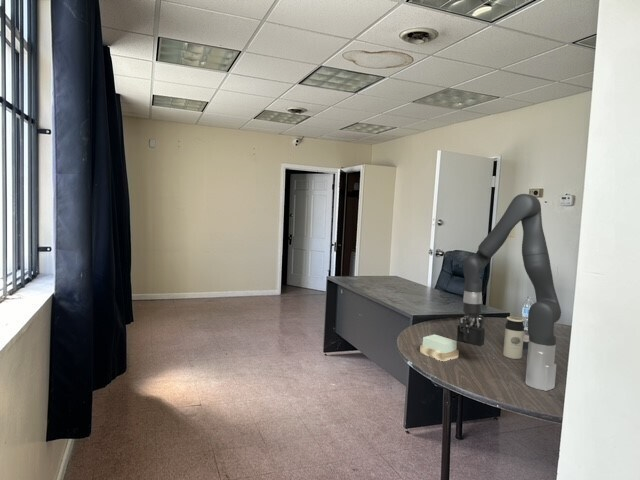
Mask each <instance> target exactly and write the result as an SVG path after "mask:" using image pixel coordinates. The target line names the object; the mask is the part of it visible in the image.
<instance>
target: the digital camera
mask: <svg viewBox="0 0 640 480" xmlns="http://www.w3.org/2000/svg"><path fill="white" fill-rule="evenodd" d="M468 326H469V325H468ZM463 328H464V327H463ZM467 328H468V327H466V329H467ZM485 333H486V330H485V328H483V327H482V328H479V327H474V326H472V328H470V331H469V341H468V342H466V341H464V339H463V336H464V332H462V331H460V324H459V325H457V333H456V335H457V336H456V341H457V343H463V344H468V345H471V346H472V345H473V346H477V347H482V346H484V345H485V335H486V334H485Z"/></svg>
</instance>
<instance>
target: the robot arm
mask: <svg viewBox="0 0 640 480" xmlns="http://www.w3.org/2000/svg"><path fill="white" fill-rule="evenodd" d="M507 206H508V207H507V208H506V210H505V211H504V213H503V215H502V216H501V218H500V219H499V221H497V223H496V225H495V226H494V227H493V228H492V230H491V231H490V232H489V233H488V234H487V235H486V237H485V238H483V240H482V241H481V242H480V243H479V245H478V249H477V251H476V252H475V253H474V254H473V255H468V256H466V257H465V258H464V260H463V263H462V270H463V271H462V272H463V277H464V291H463V300H462V301H463V302H462V312H464V315H463V317H459V319H458V320H459V321H458V323H459V325H460V331H462V332H464V336H463V339H464V341H466V342H468V341H469V331H470V328H472V326H474V327H479V328H483V325H484V324H483V323H484V319H485V317H484V315H481V314H482V308H483V307H482V306H483V305H482V303H483V302H482V301H483V295H482V293H483V290H482V289H483V280H482V279H481V278H480V272H481V271H483V270H484V269H485V268H486V266H487V265H488V264H489V263H490V262H491V259H492V257H493V256H494V255H495V254H496V253H497V252H498V251H499V249H501V247H502V246H503V245H504V244H505V242H506V241H507V239H508V238H509V235H510V233H511V232H512V231H513V229H514V228H515V227H516V225H518V224H519V223H521V226H522V240H521V241H522V242H521V256H522V262H523V267H524V270H525V272H526V274H527V276H528V278H529V280H530V282H531V284H532V287H533V289H534V294H535V300H536V301H535V302H534V303H533V304H531V305H530V307H529V310H528V317H527V334H528V336H529V344H528V349H527V357H526V358H527V359H526V370H525V372H526V373H525V384H526V386H528V387H531V388H532V389H536V390H541V391H545V392H547V391H550V390H552V389H555V386H556V385H555V384H556V373H557V363H555V360H556V359H555V358H556V357H555V356H556V347H557V345H556V344H557V337H556V335H554V334H555V333H554V331H555V330H554V329H555V328H554V327H555V326H554V325H555V323H557V322H558V321H559V320H560V319H561V316H562V310H561V305H560V302H559V298H558V296H557V293H556V289H555V283H554V278H553V273H552V267H551V266H552V265H551V260H550V255H549V250H548V245H547V241H546V236H545V233H544V229H543V221H542V220H543V218H542V206H541V201H540V200H539V199H538V197H536V196H535V195H532V194H528V193H520V194H517V195H516V196H515V197H513V199H512V200H511V202H510V203H509V205H507ZM468 325H469V326H468ZM463 327H464V328H463ZM466 327H468V328H467V329H466Z"/></svg>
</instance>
